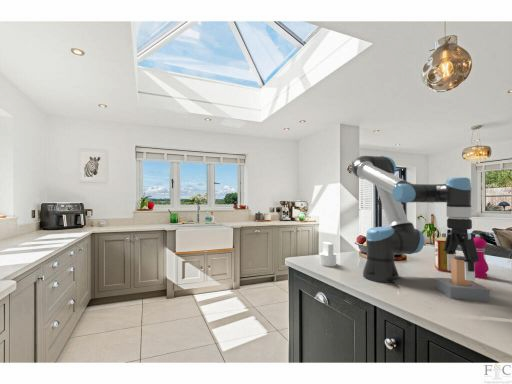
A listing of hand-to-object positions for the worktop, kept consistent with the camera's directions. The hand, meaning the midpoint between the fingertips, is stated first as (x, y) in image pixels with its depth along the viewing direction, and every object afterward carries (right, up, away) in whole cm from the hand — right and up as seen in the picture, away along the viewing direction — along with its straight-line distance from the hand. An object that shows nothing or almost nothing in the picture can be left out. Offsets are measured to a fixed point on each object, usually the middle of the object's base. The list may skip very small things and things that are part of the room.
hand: (460, 275), depth 100 cm
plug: (0, -7, 0) cm, 7 cm away
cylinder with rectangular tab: (-36, -10, +50) cm, 62 cm away
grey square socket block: (0, -8, 0) cm, 8 cm away
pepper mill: (+29, -9, +26) cm, 40 cm away
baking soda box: (+22, -9, +39) cm, 45 cm away
